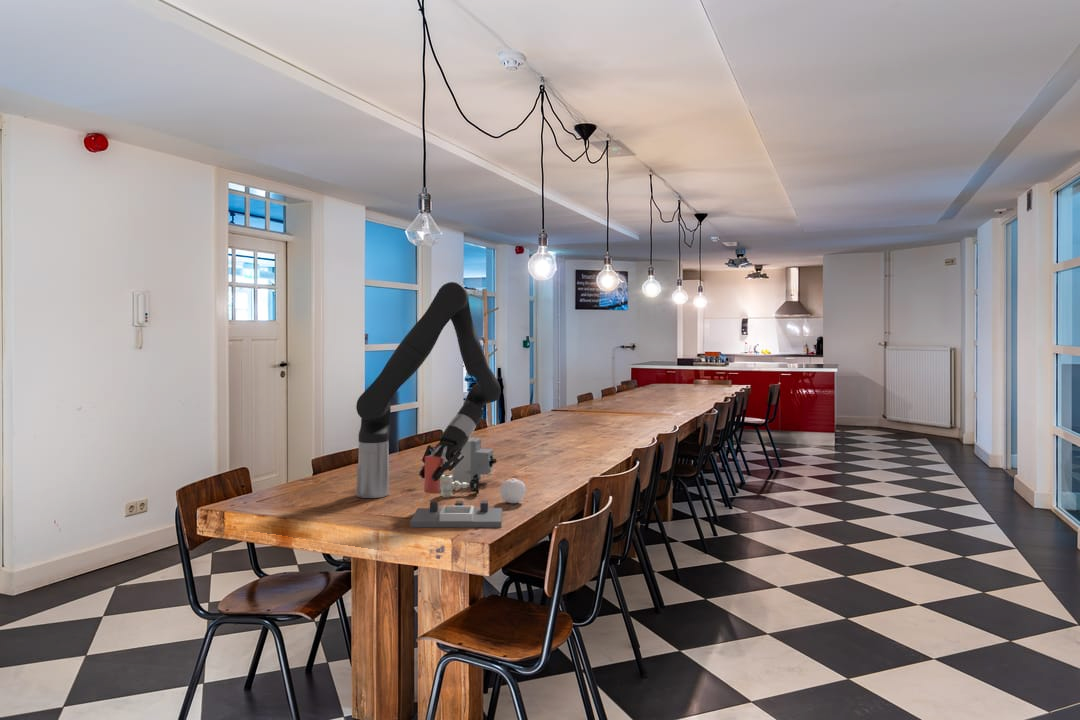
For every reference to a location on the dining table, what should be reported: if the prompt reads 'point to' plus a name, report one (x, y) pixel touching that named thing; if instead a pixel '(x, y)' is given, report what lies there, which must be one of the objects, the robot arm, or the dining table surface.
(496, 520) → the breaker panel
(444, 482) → the valve
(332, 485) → the dining table surface
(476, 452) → the circuit breaker
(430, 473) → the cap
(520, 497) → the white folded ball
